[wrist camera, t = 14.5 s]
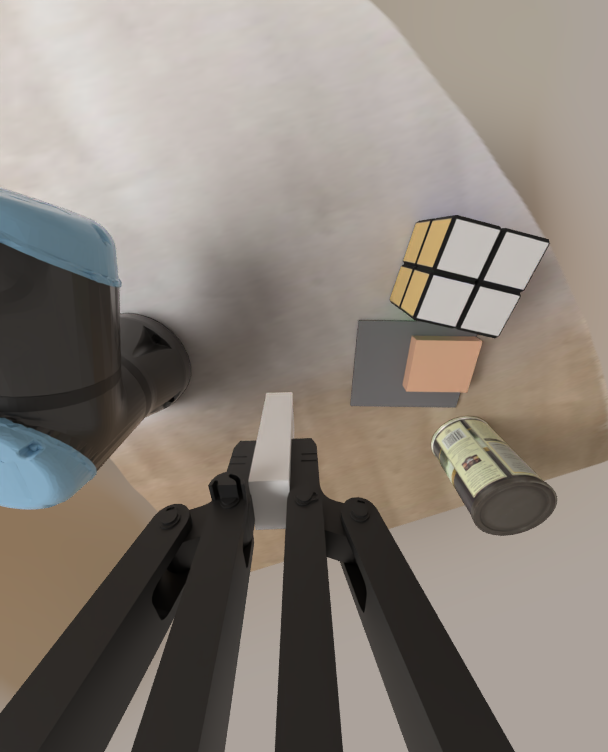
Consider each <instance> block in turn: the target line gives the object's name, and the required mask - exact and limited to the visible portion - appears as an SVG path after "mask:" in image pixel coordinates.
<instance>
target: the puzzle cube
mask: <svg viewBox="0 0 608 752" xmlns="http://www.w3.org/2000/svg"><path fill="white" fill-rule="evenodd" d="M549 244H550V243H549V239H545V238H542V237H538V236H534V235H530V234H526V233H523V232H519V231H515V230H511V229H507V228H500V226H496V225H492V224H488V223H485V222H481V221H477V220H473V219H470V218H466V217H462V216H458V215H454V216H447V217H441V218H436V219H428V220H422V221H419V222H417V223H416V225H415V227H414V230H413V233H412V236H411V239H410V242H409V245H408V248H407V251H406V254H405V257H404V259H403V262H404V265H402V266H401V268H400V271H399V274H398V277H397V280H396V283H395V285H394V288H393V291H392V294H391V297H390V301H391V303H392V304H394V305H395V306H396V307H398V308H399V309H401V310H402V311H403V312H405V313H406V314H407V315H409V316H410V317H411V318H413V319H414V320H417V321H421V322H425V323H430V324H434V325H439V326H443V327H447V328H452V329H453V328H456V329H457V330H461V331H465V332H470V333H474V334H479V335H483V336H487V337H492V338H496V337H498V336H499V335H500V333H501V332H502V330H503V328H504V326H505V324H506V322H507V321H508V319H509V317H510V315H511V313H512V312H513V310H514V308H515V306H516V304H517V302H518V301H519V299H520V297H521V295H520V292H522V291H524V290H525V288H526V286H527V284H528V283H529V281H530V279H531V277H532V275H533V273H534V272H535V270H536V268H537V266H538V264H539V262H540V261H541V259H542V257H543V255H544V253H545V251H546V250H547V248H548V246H549ZM405 264H406V265H405ZM410 265H411V266H410ZM414 266H415V267H414Z"/></svg>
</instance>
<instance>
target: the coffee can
mask: <svg viewBox="0 0 608 752" xmlns="http://www.w3.org/2000/svg"><path fill="white" fill-rule="evenodd" d="M431 448H432V452H433V454H434V455H435V456H436V458H437V459H438V461H439V462H440V464H441V466H442V467H443V469H444V471H445V472H446V474H447V476H448V477H449V479H450V481H451V482H452V484H453V486H454V487H455V489H456V491H457V492H458V494H459V496H460V497H461V499H462V501H463V503H464V504H465V506H466V507H467V509H468V511H469V512H470V514H471V516H472V519H473V521H474V523H475V525H476V526H477V527H478V528H479V529H480V530H482V531H483V532H486V533H488V534H492V535H500V536H504V535H513V534H518V533H522V532H525V531H528V530H530V529H532V528H534V527H536V526H538V525H539V524H541V523H542V522H544V521H545V520H546V519H547V518H548V517H549V516H550V515H551V514H552V512H553V511H554V509H555V507H556V504H557V496H556V493H555V491H554V490H553V488H552V487H551V486H549V485H548V484H547V483H546V482H544V481H543V480H542V479H541V478H540V477H539V476H538V475H537V474H536V473H535V472H534V471H533V470H532V469H531V468H530V467H529V466H528V465H527V464H526V463H525V462H524V461H523V460H522V459H521V458H520V457H519V456H518V455H517V454H516V453H515V452H514V451H513V450H512V449H511V448H510V447H509V446H508V445H507V444H506V443H505V442H504V441H503V440H502V438H501V437H500V436H499V435H498V434H497V433H496V432H495V431H494V430H493V429H492V428H491V427H490V426H489V425H488V424H487V423H486V422H485V421H484V420H482V419H480V418H477V417H471V416H464V417H458V418H455V419H452V420H450V421H448V422H447V423H445V424H444V425H442V426H441V427H440V428H439V429H438V430H437V431H436V433H435V434H434V436H433V439H432V442H431Z"/></svg>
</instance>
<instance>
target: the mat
mask: <svg viewBox="0 0 608 752" xmlns="http://www.w3.org/2000/svg"><path fill="white" fill-rule="evenodd" d="M411 336H474V337H477V334H474V333H470V332H465V331H461V330H457V329H456V328H453V329H452V328H447V327H443V326H439V325H434V324H430V323H425V322H421V321H391V320H359V321H358V332H357V342H356V352H355V362H354V372H353V382H352V393H351V403H350V405H351V406H389V407H456V405H457V402H458V398H459V395H460V392H406V390H405V388H404V387H403V379H404V374H405V369H406V363H407V358H408V353H409V347H410V342H411Z"/></svg>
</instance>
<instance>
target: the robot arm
mask: <svg viewBox="0 0 608 752" xmlns="http://www.w3.org/2000/svg"><path fill="white" fill-rule="evenodd" d="M119 287H121V281H120V279H119V277H118V268H117V258H116V247H115V243H114V241H113V239H112V237H111V235H110V234H109V233H108V231H107V230H106V229H105V228H104V227H103V226H101V225H100V224H98V223H97V222H95V221H93V220H91V219H89V218H87V217H85V216H82V215H80V214H77V213H74V212H72V211H69V210H66V209H63V208H61V207H58V206H55V205H52V204H49V203H46V202H43V201H40V200H37V199H34V198H31V197H28V196H25V195H22V194H19V193H16V192H13V191H10V190H7V189H4V188H1V187H0V506H4V507H9V508H16V509H43V508H49V507H52V506H55V505H57V504H59V503H61V502H64V501H66V500H68V499H69V498H71V497H72V496H73V495H74V494H75V493H76V492H77V491H78V490H80V489H81V488H82V487H83V486H84V485H85V484H86V483H87V482H88V481H90V480H91V479H93V477H94V476H95V475H96V473H97V471H98V470H99V468H100V467H101V466H102V465H103V464H104V463H105V462H106V461H107V459H108V458H109V457H110V456H111V455H112V454H113V453H114V452H115V450H116V449H117V448H118V447H119V446H120V445H121V444H122V443H123V442H124V440H125V439H126V438H127V437H128V436H129V435H130V434H131V433H132V431H133V430H134V429H135V428H136V427H137V426H138V425H139V424H140V422H141V421H142V420H143V419H144V418H145V417H147V416H149V415H152V414H154V413H156V412H158V411H160V410H162V409H165V408H167V407H168V406H170V405H171V404H173V403H174V402H175V401H176V400H177V399H178V398H179V397H180V396H181V394H182V393H183V392H184V391H185V389H186V387H187V386H188V383H189V380H190V374H191V367H190V361H189V358H188V355H187V352H186V350H185V348H184V347H183V345H182V343H181V342H180V341H179V339H178V338H177V337H176V336H175V335H174V334H173V333H172V332H171V331H170V330H169V329H167V328H166V327H165V326H163V325H162V324H160V323H159V322H157V321H155V320H153V319H151V318H148V317H145V316H142V315H138V314H130V313H123V314H120V294H119ZM208 486H209V490H210V494H211V498H212V501H211V502H210V503H208V504H206V505H203V506H201V507H197V508H194V509H191V510H189V509H188V508H187V506H185V505H182V504H173V505H170V506H167V507H165V508H163V509H162V510H160V511H159V512H158V513H157V514H156V515H155V516H154V517H153V518H152V520H151V521H150V522H149V524H148V525H147V526H146V528H145V529H144V530H143V531H142V533H141V534H140V535H139V536H138V538H137V539H136V540H135V542H134V543H133V544H132V545H131V547H130V548H129V549H128V550H127V552H126V553H125V554H124V556H123V557H122V558H121V560H120V561H119V562H118V564H117V565H116V566H115V567H114V568H113V570H112V571H111V572H110V574H109V575H108V576H107V577H106V579H105V580H104V581H103V583H102V584H101V585H100V586H99V588H98V589H97V590H96V591H95V593H94V594H93V595H92V597H91V598H90V599H89V601H88V602H87V603H86V604H85V606H84V607H83V608H82V610H81V611H80V612H79V613H78V615H77V616H76V617H75V618H74V620H73V621H72V622H71V623H70V625H69V626H68V627H67V629H66V630H65V631H64V632H63V634H62V635H61V636H60V638H59V639H58V640H57V642H56V643H55V644H54V645H53V647H52V648H51V649H50V650H49V652H48V653H47V654H46V655H45V657H44V658H43V659H42V661H41V662H40V663H39V665H38V666H37V667H36V668H35V670H34V671H33V672H32V673H31V675H30V676H29V677H28V679H27V680H26V681H25V682H24V684H23V685H22V686H21V688H20V689H19V690H18V691H17V693H16V694H15V695H14V696H13V698H12V699H11V700H10V702H9V703H8V704H7V705H6V707H5V708H4V709H3V711H2V712H1V713H0V752H104V751H105V749H106V747H107V745H108V743H109V741H110V740H111V738H112V736H113V734H114V732H115V730H116V728H117V726H118V724H119V722H120V721H121V719H122V716H123V715H124V713H125V711H126V709H127V707H128V705H129V703H130V701H131V700H132V697H133V696H134V694H135V692H136V690H137V688H138V686H139V684H140V682H141V680H142V678H143V677H144V675H145V673H146V671H147V669H148V667H149V665H150V663H151V661H152V659H153V657H154V655H155V654H156V652H157V650H158V648H159V646H160V644H161V642H162V640H163V638H164V636H165V634H166V633H167V631H168V629H169V627H170V625H171V623H172V621H173V619H174V621H173V624H172V627H171V630H170V633H169V636H168V639H167V642H166V645H165V649H164V652H163V655H162V658H161V661H160V664H159V668H158V670H157V673H156V676H155V679H154V683H153V686H152V689H151V692H150V695H149V698H148V701H147V704H146V707H145V710H144V713H143V717H142V720H141V723H140V726H139V729H138V732H137V735H136V738H135V741H134V745H133V748H132V751H131V752H224V750H225V744H226V737H227V729H228V723H229V716H230V709H231V701H232V695H233V688H234V681H235V673H236V666H237V659H238V652H239V646H240V638H241V631H242V624H243V618H244V611H245V604H246V597H247V589H248V583H249V575H250V569H251V562H252V555H253V547H254V537H253V530H254V524H255V528H256V530H262V529H286V531H285V552H284V573H283V594H282V615H281V636H280V658H279V676H278V677H279V678H278V697H277V718H276V740H275V752H343V746H342V734H341V722H340V711H339V698H338V687H337V675H336V662H335V650H334V639H333V627H332V615H331V603H330V592H329V581H328V580H329V579H328V568H327V557H329V558H332V559H335V560H338V561H340V563H341V566H342V569H343V571H344V574H345V577H346V580H347V582H348V585H349V588H350V591H351V594H352V596H353V599H354V602H355V605H356V608H357V610H358V613H359V616H360V619H361V621H362V624H363V627H364V630H365V632H366V635H367V638H368V641H369V643H370V646H371V649H372V652H373V654H374V657H375V660H376V663H377V666H378V668H379V671H380V674H381V677H382V679H383V682H384V685H385V688H386V690H387V693H388V696H389V699H390V701H391V704H392V707H393V710H394V713H395V715H396V718H397V721H398V724H399V726H400V729H401V732H402V735H403V737H404V740H405V743H406V745H407V748H408V751H409V752H515V751H514V750H513V748H512V746H511V744H510V743H509V741H508V739H507V737H506V735H505V734H504V732H503V730H502V728H501V727H500V725H499V723H498V722H497V720H496V718H495V716H494V714H493V713H492V711H491V709H490V707H489V705H488V704H487V702H486V700H485V698H484V697H483V695H482V693H481V691H480V690H479V688H478V687H477V684H476V683H475V681H474V679H473V677H472V676H471V674H470V672H469V670H468V669H467V667H466V665H465V663H464V662H463V660H462V658H461V656H460V654H459V653H458V651H457V649H456V647H455V646H454V644H453V642H452V641H451V639H450V637H449V635H448V633H447V632H446V630H445V628H444V626H443V625H442V623H441V621H440V619H439V618H438V616H437V614H436V612H435V610H434V609H433V607H432V605H431V603H430V602H429V600H428V598H427V596H426V595H425V593H424V591H423V589H422V588H421V586H420V584H419V582H418V581H417V579H416V577H415V575H414V574H413V572H412V570H411V569H410V567H409V565H408V563H407V562H406V560H405V558H404V556H403V554H402V552H401V551H400V549H399V547H398V545H397V544H396V542H395V540H394V538H393V537H392V535H391V533H390V531H389V530H388V528H387V526H386V524H385V523H384V521H383V519H382V517H381V516H380V514H379V512H378V510H377V508H376V507H375V506H374V505H373V504H372V503H371V502H370V501H368V500H366V499H363V498H359V497H357V498H351V499H349V500H346V502H345V503H341V502H337V501H334V500H331V499H329V498H328V497H326V496H325V495H324V494H323V492H322V490H321V488H320V482H319V470H318V458H317V446H316V444H315V442H314V441H313V440H312V438H304V439H294V414H293V394H292V392H279V393H266V398H265V403H264V407H263V412H262V417H261V422H260V427H259V432H258V436H257V441H240V442H239V443H238V444H237V445H236V447H235V448H234V450H233V453H232V456H231V459H230V463H229V466H228V469H227V472H224V473H222V474H219V475H217V476H216V477H215V478H214V479H212V480H211V482H210V484H209V485H208ZM174 617H175V618H174Z"/></svg>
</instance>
